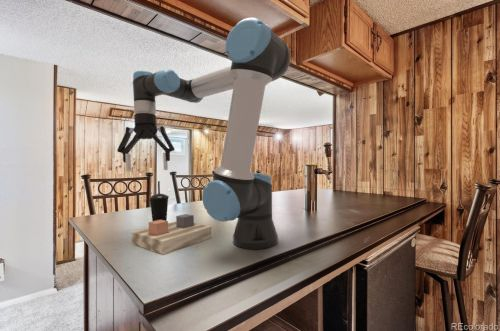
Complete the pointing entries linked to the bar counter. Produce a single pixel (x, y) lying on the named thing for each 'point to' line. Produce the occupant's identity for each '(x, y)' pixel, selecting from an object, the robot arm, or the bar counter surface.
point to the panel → (171, 238)
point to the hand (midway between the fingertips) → (147, 170)
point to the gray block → (185, 221)
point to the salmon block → (158, 227)
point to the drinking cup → (159, 205)
